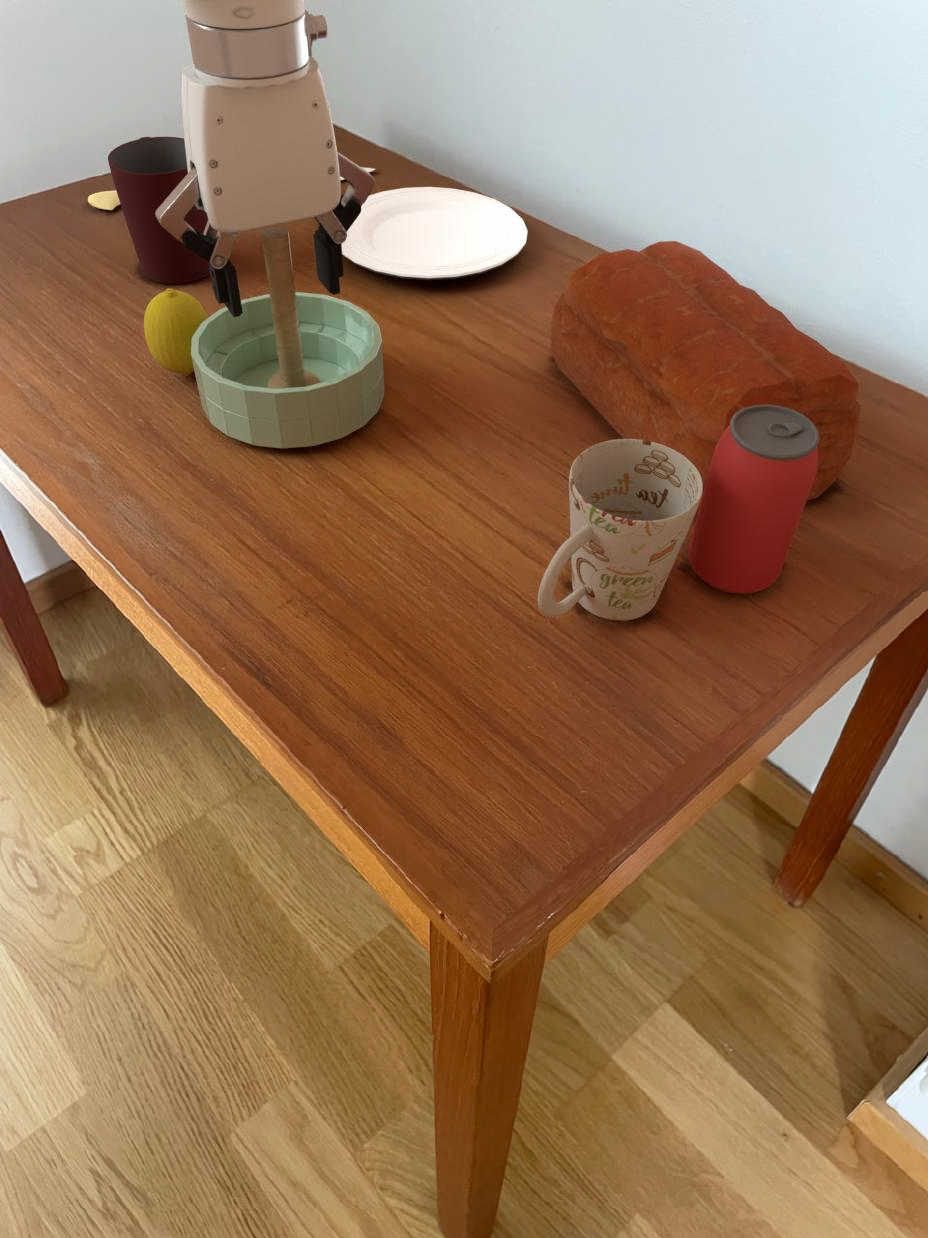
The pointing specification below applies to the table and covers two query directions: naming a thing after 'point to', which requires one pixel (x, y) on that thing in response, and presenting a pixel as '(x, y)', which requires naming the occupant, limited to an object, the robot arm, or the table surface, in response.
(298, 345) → the wooden peg with base
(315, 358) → the bowl
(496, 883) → the table surface
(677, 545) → the mug
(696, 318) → the bread
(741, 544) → the beer can
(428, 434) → the table surface
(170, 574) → the table surface
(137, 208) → the mug
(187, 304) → the lemon
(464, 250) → the plate
